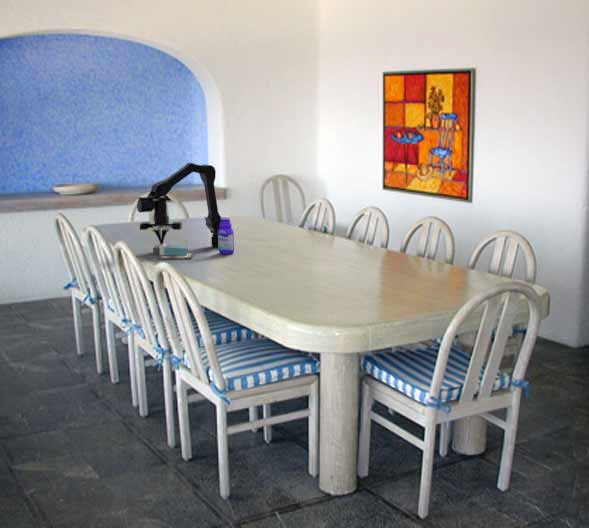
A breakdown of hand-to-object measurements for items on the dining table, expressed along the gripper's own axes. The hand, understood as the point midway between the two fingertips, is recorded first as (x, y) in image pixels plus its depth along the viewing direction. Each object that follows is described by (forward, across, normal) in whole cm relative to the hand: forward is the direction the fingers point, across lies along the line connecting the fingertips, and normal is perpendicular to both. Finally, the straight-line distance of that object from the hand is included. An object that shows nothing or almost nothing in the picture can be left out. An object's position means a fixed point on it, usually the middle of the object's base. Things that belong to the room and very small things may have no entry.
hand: (161, 244), depth 357 cm
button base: (+4, 0, 0) cm, 4 cm away
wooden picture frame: (+4, -8, +10) cm, 13 cm away
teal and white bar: (+3, -8, +10) cm, 13 cm away
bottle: (+4, -30, +2) cm, 30 cm away
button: (+3, 0, 0) cm, 3 cm away
